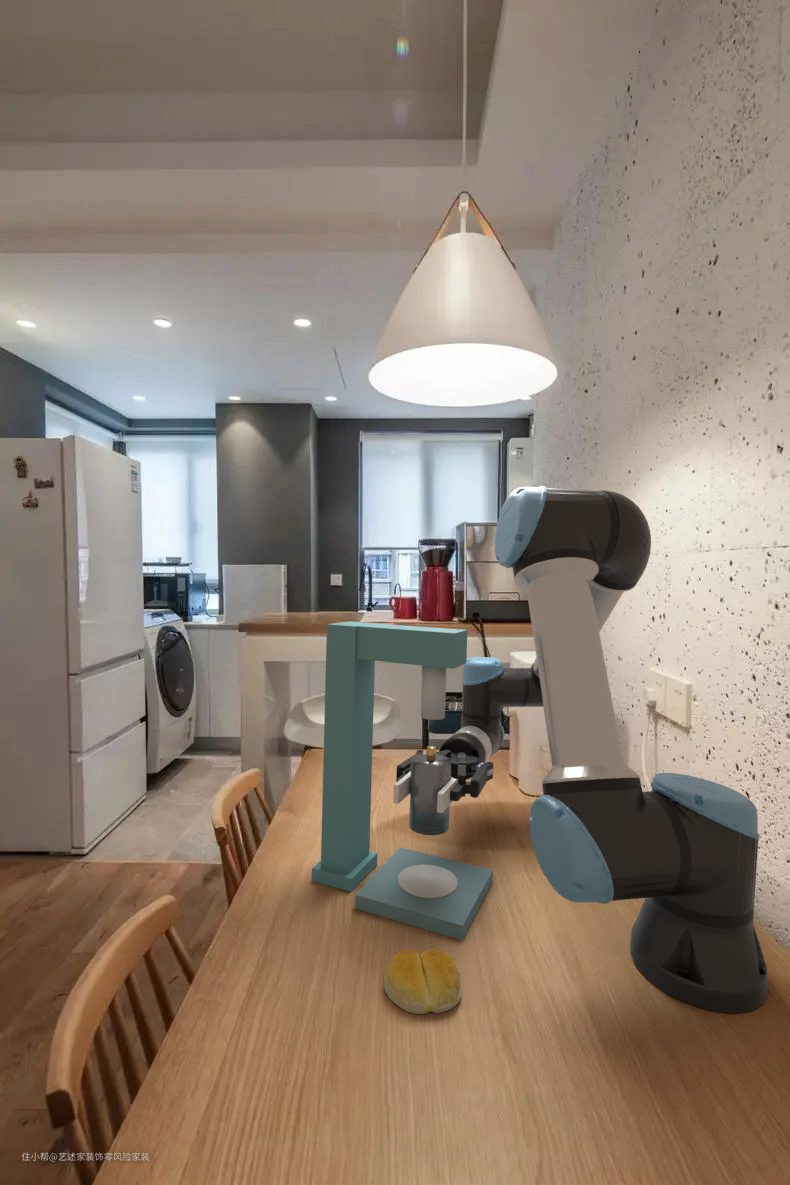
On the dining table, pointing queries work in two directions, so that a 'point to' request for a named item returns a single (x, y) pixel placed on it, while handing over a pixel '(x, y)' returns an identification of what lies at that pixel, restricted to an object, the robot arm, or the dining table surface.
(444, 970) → the bread roll
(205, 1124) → the dining table surface
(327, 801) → the arbor press
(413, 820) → the cylinder
